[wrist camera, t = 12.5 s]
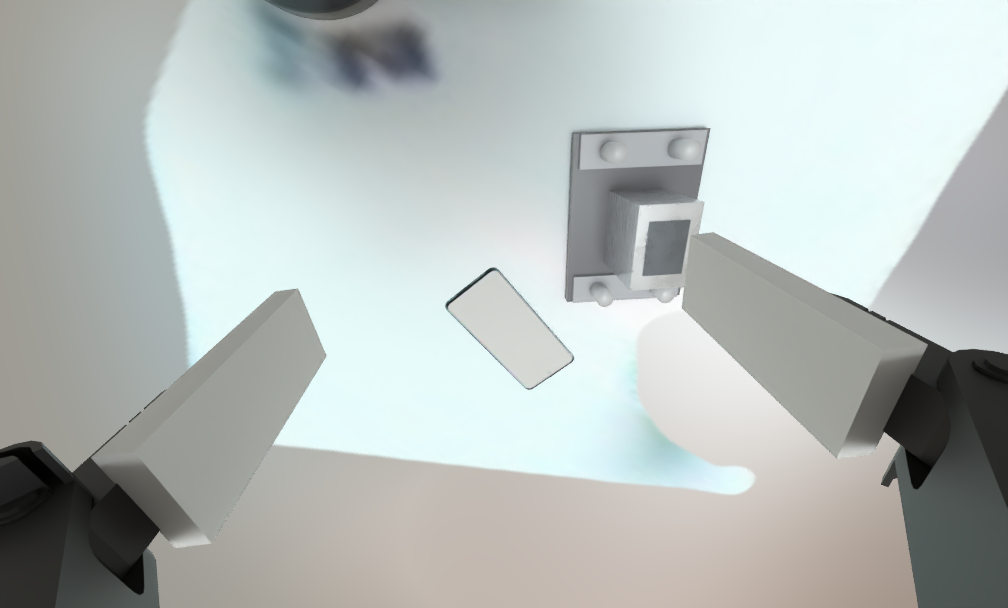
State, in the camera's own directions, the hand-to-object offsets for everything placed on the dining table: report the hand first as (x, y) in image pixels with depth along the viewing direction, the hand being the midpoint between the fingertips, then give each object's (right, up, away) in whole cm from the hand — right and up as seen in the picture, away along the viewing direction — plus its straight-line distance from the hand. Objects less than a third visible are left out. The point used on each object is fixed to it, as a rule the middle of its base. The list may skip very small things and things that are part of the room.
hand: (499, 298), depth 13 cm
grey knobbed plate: (+12, +8, +24) cm, 28 cm away
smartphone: (+1, -3, +29) cm, 29 cm away
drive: (+13, +7, +23) cm, 27 cm away
